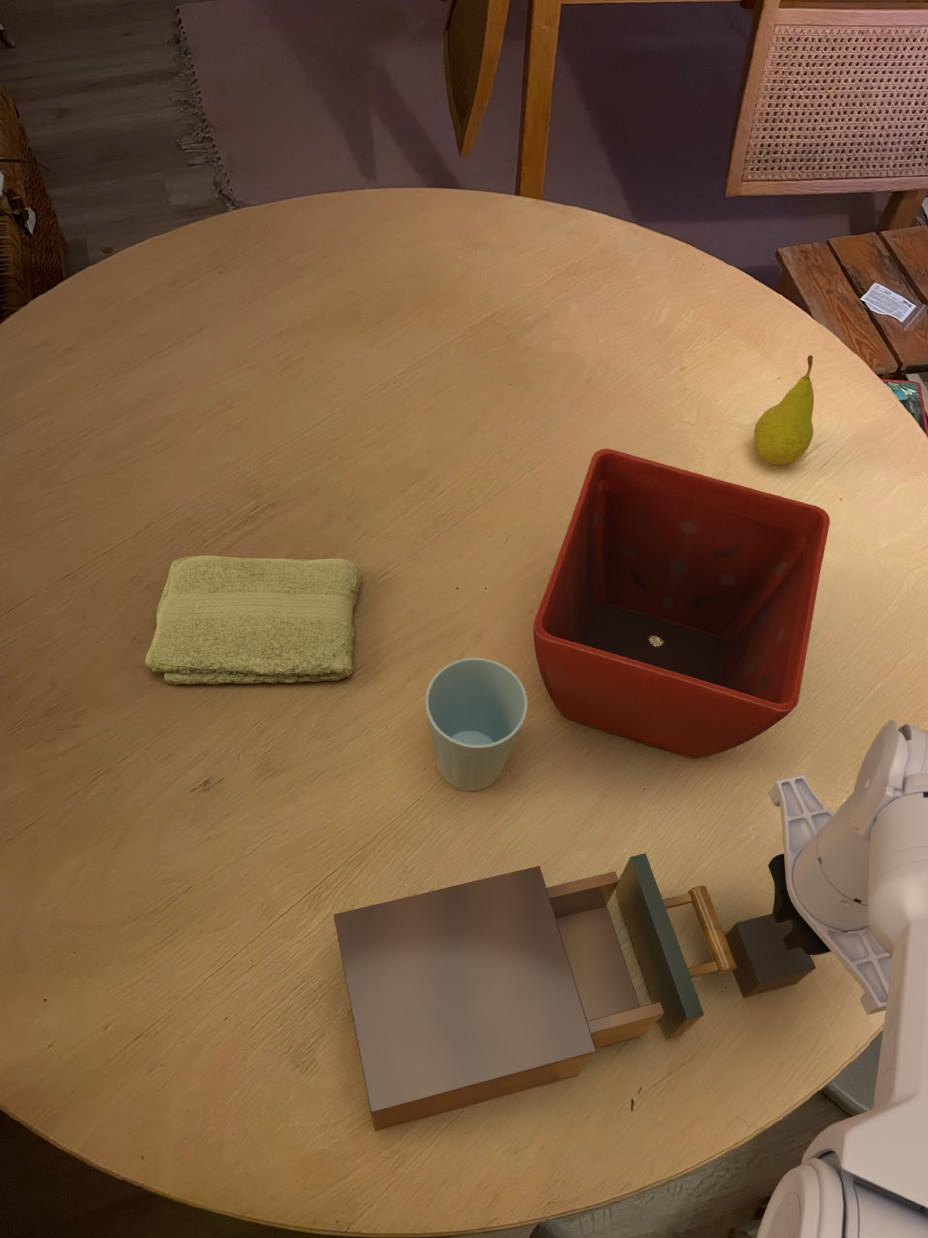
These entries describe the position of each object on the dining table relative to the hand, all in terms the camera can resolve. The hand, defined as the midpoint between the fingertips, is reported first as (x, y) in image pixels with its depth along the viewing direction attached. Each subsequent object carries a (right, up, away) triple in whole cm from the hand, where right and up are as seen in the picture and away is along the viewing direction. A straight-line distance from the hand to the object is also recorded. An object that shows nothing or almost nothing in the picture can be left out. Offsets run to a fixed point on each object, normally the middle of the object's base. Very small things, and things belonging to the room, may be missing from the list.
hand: (792, 928), depth 71 cm
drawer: (-13, -5, +5) cm, 15 cm away
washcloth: (-41, +20, +21) cm, 50 cm away
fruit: (+9, +38, +35) cm, 53 cm away
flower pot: (-7, +16, +20) cm, 26 cm away
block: (0, -5, +7) cm, 8 cm away
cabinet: (-23, -7, +4) cm, 25 cm away
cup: (-22, +9, +15) cm, 28 cm away
